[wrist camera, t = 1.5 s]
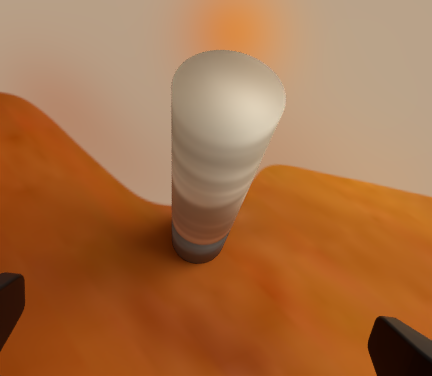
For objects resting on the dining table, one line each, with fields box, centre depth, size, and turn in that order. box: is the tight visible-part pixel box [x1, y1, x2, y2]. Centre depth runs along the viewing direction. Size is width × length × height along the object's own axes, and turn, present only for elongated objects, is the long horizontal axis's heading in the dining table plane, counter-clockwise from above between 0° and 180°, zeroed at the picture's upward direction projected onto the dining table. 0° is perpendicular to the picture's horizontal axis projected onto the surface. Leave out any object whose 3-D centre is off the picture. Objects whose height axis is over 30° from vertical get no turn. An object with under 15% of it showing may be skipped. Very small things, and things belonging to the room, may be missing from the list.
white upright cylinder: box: [171, 50, 286, 264], centre depth 16 cm, size 4×4×14 cm
